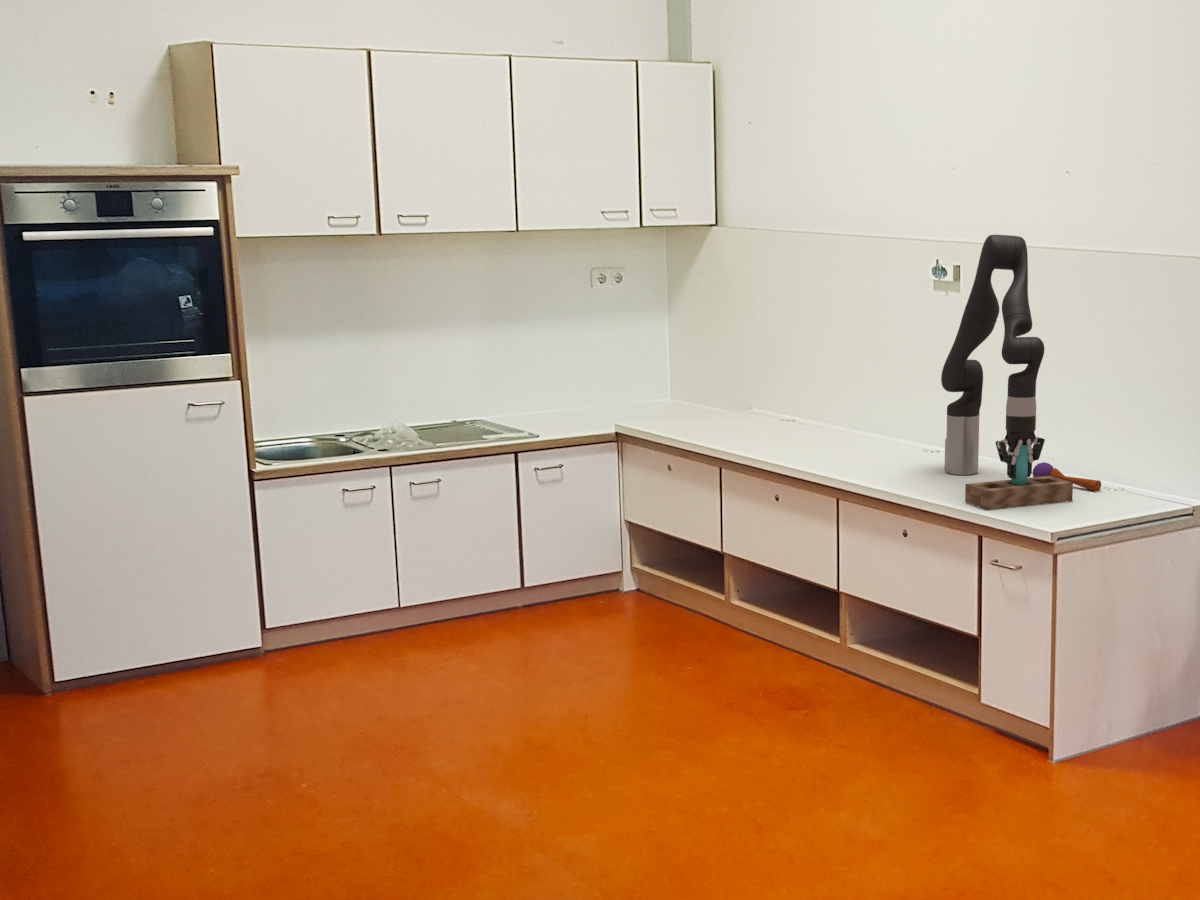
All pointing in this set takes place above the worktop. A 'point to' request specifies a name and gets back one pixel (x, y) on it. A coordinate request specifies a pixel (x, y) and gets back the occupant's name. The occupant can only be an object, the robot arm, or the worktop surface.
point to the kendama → (1048, 470)
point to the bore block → (1018, 493)
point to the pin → (1021, 467)
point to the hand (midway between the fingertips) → (1019, 477)
